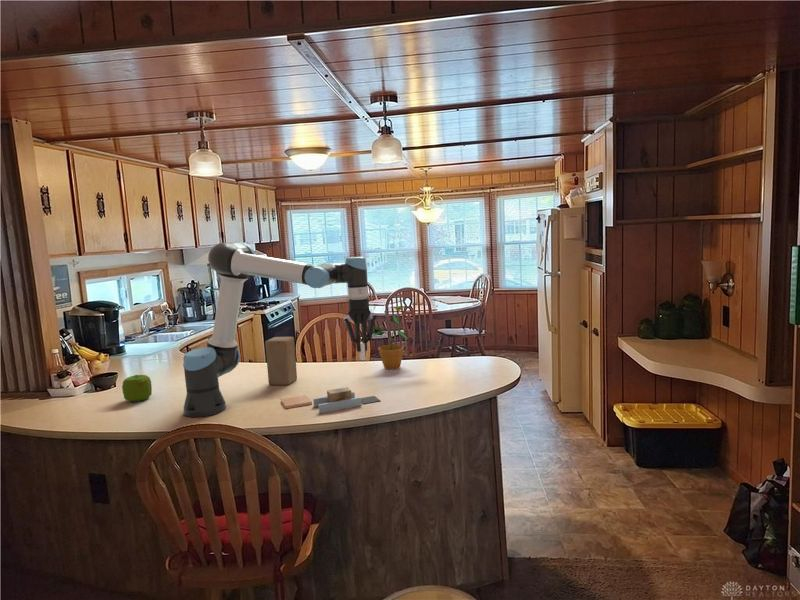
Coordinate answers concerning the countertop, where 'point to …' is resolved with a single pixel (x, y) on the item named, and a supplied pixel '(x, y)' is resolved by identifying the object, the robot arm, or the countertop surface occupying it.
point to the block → (339, 394)
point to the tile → (296, 401)
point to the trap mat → (369, 400)
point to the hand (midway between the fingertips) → (362, 359)
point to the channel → (336, 403)
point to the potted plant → (391, 346)
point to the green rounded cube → (137, 388)
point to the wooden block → (281, 360)
